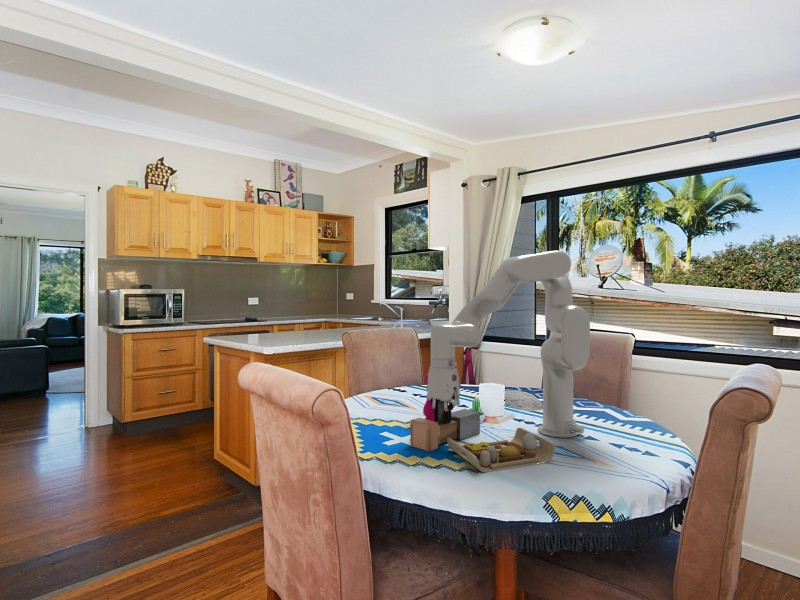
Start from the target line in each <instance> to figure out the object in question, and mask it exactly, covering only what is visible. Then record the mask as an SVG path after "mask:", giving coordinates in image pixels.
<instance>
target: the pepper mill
mask: <svg viewBox="0 0 800 600" xmlns="http://www.w3.org/2000/svg"><path fill="white" fill-rule="evenodd" d="M428 374H429V372H427V373H426V374H425V376H424V382H425V384H426V388H425V389H426V391H427V392H428V390H427V386H428ZM422 410H423V411H422V414H423V416H425V417H424V419H427V420H430V421H434V408H433V407H432V403H431V402H430V400H429V399H428V398H427V397H426V401H425V403H424V406H423V409H422ZM434 422H437V421H434Z"/></svg>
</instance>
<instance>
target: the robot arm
mask: <svg viewBox="0 0 800 600" xmlns="http://www.w3.org/2000/svg"><path fill="white" fill-rule="evenodd" d="M571 267H572V260H571V257H570V256H569V254H567V253H566V252H565V251H563V250H549V251H542V252H538V253H534V254H525V255H518V256H510V257H508V258H505V259H504V260H503V261H502V262H501V263H500V265H499V266H498V267H497V269H496V270H495V272H494V273H493V274H492V276H490V278H489V280H487V282H486V283H485V285H484V286H483V288H482V289H481V290H480V292H479V293H477V294H476V295H475V296H473V298H472V299H471V300H470V301H469V302H468V303H467V304H465V305H464V307H463V308H461V310H460V311H459V313H458V314H457V315H456V317H455V318H454V320H452V322H451V323H434V324H432V325H431V326H430V366H429V369H428V373H429V374H428V386H427V385H426V386H427V387H426V388H427V390H428V391H427V390H426V391H427V394H426V399H427V398H428V399H429V400H430V402H431V403H432V407H433V408H434V421H438V401H444V410H445V411H443V424H447V423H451V412H452V411H453V410H454V408H455V407H456V406H458V405H460V404H461V401H460V396H461V393H460V392H461V391H460V378H459V373H458V368H455V367H456V366H457V365H458V363H457V361H456V353H455V352H456V351H455V350H456V349H455V348H456V347H459V348H460V347H461V348H474V347H476V346H478V345H479V344H480V342H481V341H482V338H483V337H482V336H483V335H482V331H481V329H480V327H478V325H479V323H480V322H481V321H482V320H484V319H485V318H486V317H487V316H489V315H491V314H493V313H495V312H497V311H499V310H500V309H502V308H503V307H504V306H505V305H506V303H507V301H509V299H510V297H511V296H512V295H513V293H514V292H515V290H516V289H517V288H518V287H519V285H520V284H524V283H525V284H527V283H528V284H529V283H535V282H541V284H542V285H543V289H544V293H545V304H544V305H545V306H544V307H545V309H544V313H545V314H544V322H545V326H546V328H547V329H548V330H549V331H551V332H553V333H555V334H561V335H560V336H551V337H549V338H547V339H546V340H545V341H544V342H543V343H542V344H541V346H540V347H541V348H540V359H541V360H540V361H541V364H542V365H541V366H542V377H543V378H542V383H543V384H542V404H543V409H542V423H541V424H540V425H538V426H537V432H539V433H540V434H542V435H544V436H548V437H553V438H567V439H568V438H573V437H576V436H578V435H579V434H584V432H585V426H584V425H580V424H578V423H577V420H576V419H574V374H573V371H579V370H582V369H583V368H584V367H585V366H586V365H587V364H588V361H589V358H590V347H591V346H590V345H591V343H590V341H591V340H590V339H591V322H590V317H589V314H588V312H587V311H586V309H584V308H583V307H581V306H579V305H574V303H573V302H574V301H573V299H574V298H573V288H572V287H573V286H572V283H571V280H570V278H569V276H568V275H567V274H568V273H569V271H570V270H571Z"/></svg>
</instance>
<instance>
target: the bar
mask: <svg viewBox="0 0 800 600" xmlns="http://www.w3.org/2000/svg"><path fill="white" fill-rule="evenodd" d="M443 411H445V410H444V401H442V400H441V401H438V421H437V423H438V446H440V445H441V444H444V443H446V442H447V438H451V439H452V440H454V441H455V440H456V439H457V440H458V419H455V418H451V423H447V424H443ZM447 443H448V442H447Z"/></svg>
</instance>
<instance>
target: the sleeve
mask: <svg viewBox="0 0 800 600" xmlns="http://www.w3.org/2000/svg"><path fill="white" fill-rule="evenodd" d="M451 418H455V419H458V438H457V440H458V441H463V440H465V439H467V438H471V437H474V436H477V435H480V434H481V413H480V411H475V410H470V409H467V408H463V409H459V410H455V411H451Z"/></svg>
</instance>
